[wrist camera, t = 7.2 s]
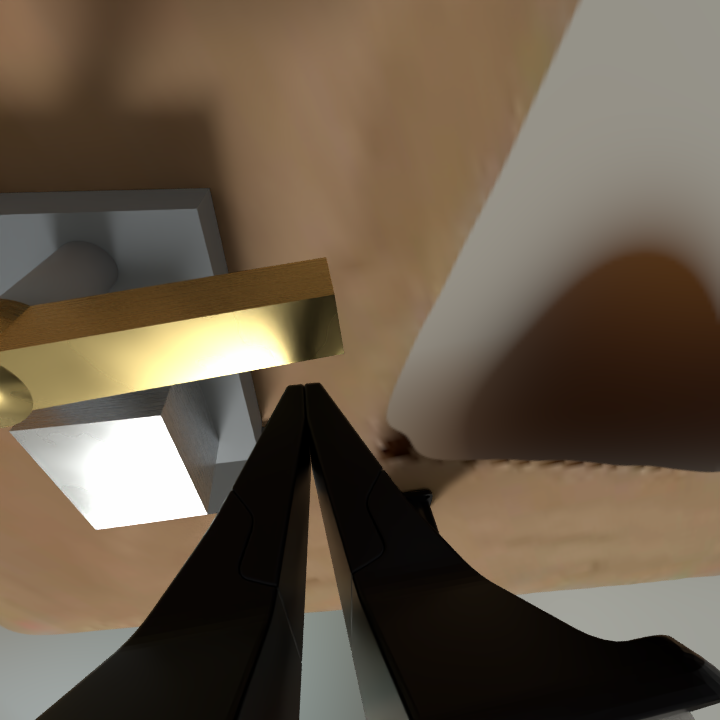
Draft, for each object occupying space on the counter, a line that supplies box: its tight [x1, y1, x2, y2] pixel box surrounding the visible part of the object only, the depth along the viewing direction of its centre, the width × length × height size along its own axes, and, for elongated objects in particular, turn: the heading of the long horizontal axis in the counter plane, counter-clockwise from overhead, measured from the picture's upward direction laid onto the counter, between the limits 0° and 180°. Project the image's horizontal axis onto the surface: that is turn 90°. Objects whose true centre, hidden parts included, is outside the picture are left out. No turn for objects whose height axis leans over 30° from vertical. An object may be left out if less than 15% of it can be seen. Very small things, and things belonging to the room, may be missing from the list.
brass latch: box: [0, 257, 344, 428], centre depth 10 cm, size 3×10×2 cm, turn 96°
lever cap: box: [9, 380, 219, 530], centre depth 17 cm, size 5×7×4 cm
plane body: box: [0, 188, 262, 464], centre depth 17 cm, size 9×15×8 cm, turn 179°
